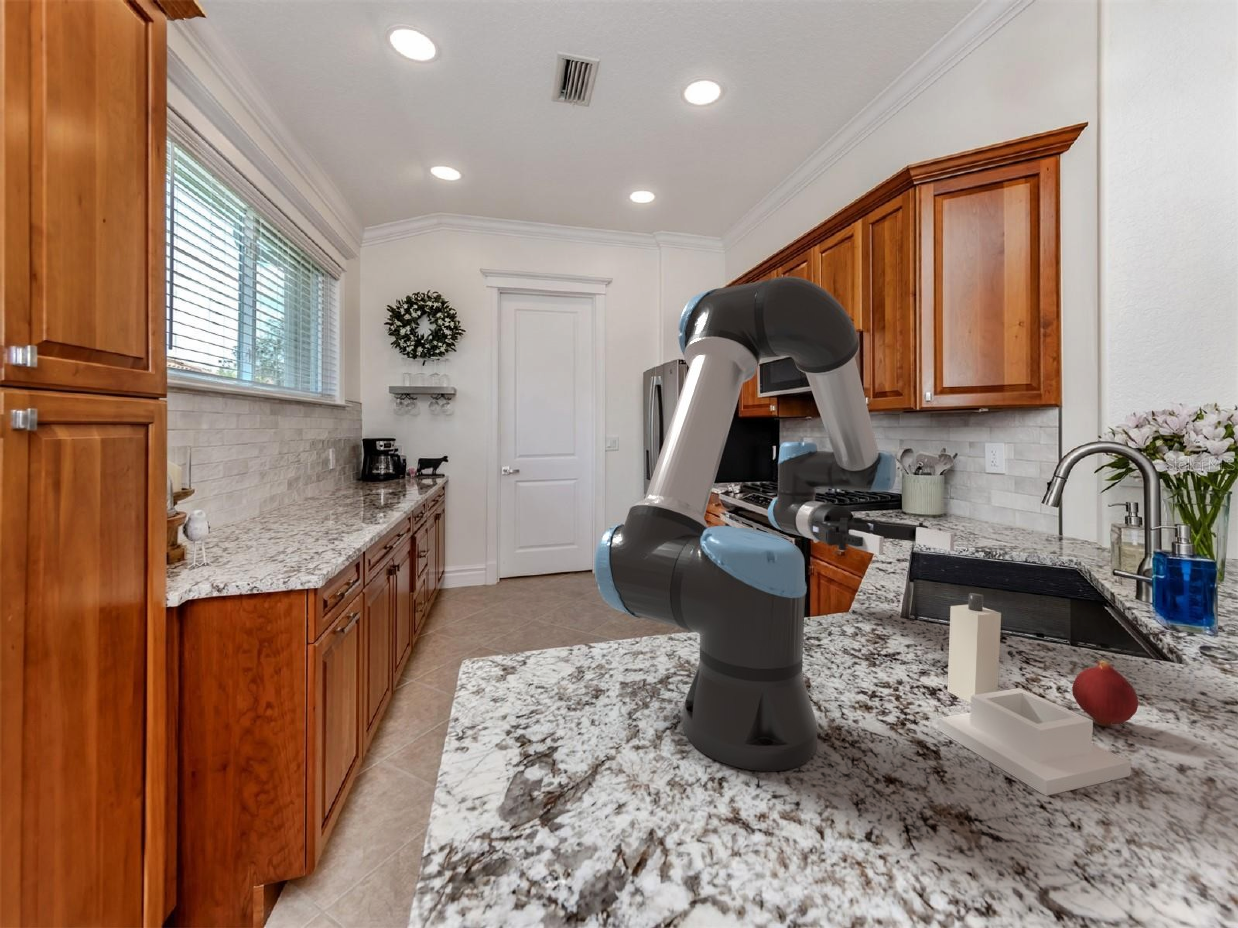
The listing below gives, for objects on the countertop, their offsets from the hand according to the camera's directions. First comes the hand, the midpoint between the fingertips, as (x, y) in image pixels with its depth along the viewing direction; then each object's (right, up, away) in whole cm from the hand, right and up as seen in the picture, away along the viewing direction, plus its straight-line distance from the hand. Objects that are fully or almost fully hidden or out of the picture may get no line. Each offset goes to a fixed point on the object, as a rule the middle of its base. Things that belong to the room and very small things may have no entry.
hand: (917, 544), depth 79 cm
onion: (+14, -20, -16) cm, 29 cm away
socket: (0, -20, -22) cm, 29 cm away
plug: (+2, -19, -9) cm, 21 cm away
